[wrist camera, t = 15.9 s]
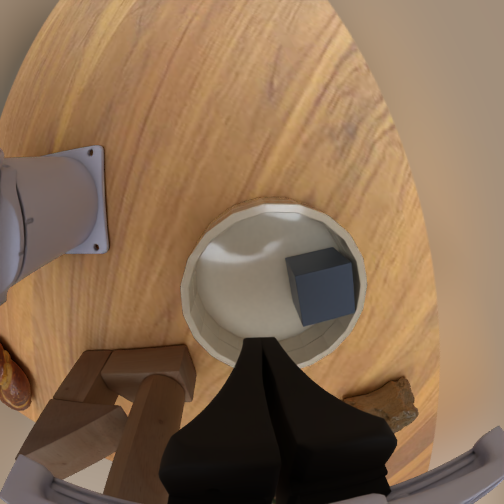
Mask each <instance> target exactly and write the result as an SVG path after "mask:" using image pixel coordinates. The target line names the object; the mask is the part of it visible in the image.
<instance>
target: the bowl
mask: <svg viewBox="0 0 504 504" xmlns="http://www.w3.org/2000/svg"><path fill="white" fill-rule="evenodd" d="M330 247H334V248H335V249H336V250H337V251H338V252H340V253H341V254H342V255H343V256H344V257H345V258H347V259H348V260H349V261H350V262H351V263H352V274H353V286H354V301H355V313H353V314H349V315H346V316H342V317H339V318H335V319H331V320H328V321H324V322H320V323H316V324H313V325H309V326H305V327H303V325H302V323H301V320H300V318H299V316H298V313H297V311H296V308H295V306H294V303H293V300H292V294H291V288H290V283H289V277H288V272H287V267H286V261H285V258H287V257H291V256H296V255H300V254H304V253H309V252H313V251H317V250H321V249H326V248H330ZM180 287H181V288H180V290H181V301H182V311H183V316H184V318H185V320H186V322H187V324H188V326H189V328H190V330H191V332H192V334H193V337H194V338H195V339H196V341H197V342H198V343H199V344H200V345H201V346H202V347H203V348H204V349H205V350H206V351H207V352H208V353H209V354H210V355H211V356H213V357H214V358H216V359H218V360H220V361H221V362H223V363H225V364H227V365H229V366H231V367H233V368H234V367H235V364H236V362H237V360H238V357H239V355H240V352H241V349H242V345H243V339H245V338H251V337H275V338H276V339H277V340H278V342H279V343H280V345H281V346H282V348H283V349H284V350H285V352H286V353H287V354H288V355H289V357H290V358H291V359H292V360H293V361H294V362H295V363H296V365H297V366H298V367H299V368H303V367H307V366H310V365H312V364H314V363H315V362H317V361H319V360H320V359H322V358H323V357H325V356H327V355H328V354H330V353H331V352H333V351H334V350H335V349H336V348H337V347H338V346H339V345H340V344H341V343H342V342H343V341H344V340H345V338H346V337H347V336H348V335H349V334H350V333H351V332H352V330H353V328H354V326H355V324H356V322H357V320H358V318H359V316H360V314H361V312H362V309H363V306H364V301H365V295H366V289H367V278H366V272H365V265H364V259H363V256H362V255H361V253H360V251H359V249H358V247H357V245H356V244H355V242H354V240H353V238H352V237H351V235H350V234H349V233H348V232H347V231H346V230H345V229H344V228H343V227H341V226H340V225H339V224H338V223H337V222H336V221H334V220H333V219H332V218H331V217H330V216H328V215H327V214H325V213H323V212H321V211H319V210H317V209H315V208H313V207H311V206H308V205H306V204H303V203H300V202H298V201H295V200H292V199H289V198H279V197H261V198H256V199H251V200H248V201H245V202H242V203H239V204H237V205H235V206H232V207H231V208H229V209H228V210H226V211H225V212H223V213H222V214H220V215H219V216H218V217H217V218H216V219H215V220H213V221H212V222H211V223H210V224H209V226H208V227H207V228H206V230H205V231H204V233H203V234H202V236H201V237H200V238H199V240H198V241H197V243H196V245H195V246H194V248H193V250H192V252H191V254H190V256H189V258H188V260H187V263H186V267H185V271H184V275H183V278H182V282H181V286H180Z"/></svg>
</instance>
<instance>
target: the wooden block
mask: <svg viewBox="0 0 504 504" xmlns="http://www.w3.org/2000/svg"><path fill="white" fill-rule="evenodd" d="M195 381H196V372H195V369H194V366H193V364H192V361H191V358H190V355H189V352H188V349H187V347H186V346H185V345H179V346H169V347H158V348H145V349H131V350H115V351H113V352H112V351H110V350H106V351H85V352H83V354H82V355H81V356H80V358H79V359H78V361H77V362H76V363H75V365H74V366H73V368H72V369H71V371H70V372H69V374H68V375H67V377H66V378H65V379H64V381H63V382H62V384H61V385H60V387H59V388H58V390H57V391H56V393H55V395H54V396H53V399H50V401H49V402H48V404H47V405H46V407H45V408H44V410H43V412H42V413H41V415H40V417H39V418H38V420H37V421H36V423H35V425H34V427H33V428H32V430H31V431H30V433H29V435H28V437H27V439H26V440H25V442H24V444H23V446H22V447H21V449H20V451H19V453H18V454H17V457H16V458H15V460H17V458H18V456H19V454H22V455H24V456H26V457H28V458H30V459H32V460H34V461H36V462H38V463H40V464H42V465H43V466H44V467H46V468H47V469H48V470H49V471H50V472H51V473H52V474H53V476H54V477H56V478H59V479H61V480H63V479H65V478H67V477H69V476H71V475H73V474H75V473H77V472H79V471H81V470H83V469H85V468H87V467H88V466H90V465H92V464H94V463H96V462H98V461H100V460H102V459H103V458H105V457H107V456H109V455H111V454H112V453H114V452H116V453H115V456H114V460H113V463H112V466H111V469H110V472H109V475H108V478H107V482H106V485H105V488H104V492H103V494H104V495H108V496H111V497H115V498H119V499H123V500H127V501H131V502H136V503H141V504H167V503H168V496H169V494H168V492H167V491H166V489H165V487H164V486H163V484H162V482H161V481H160V479H159V475H158V473H159V468H160V462H161V458H162V455H163V453H164V450H165V448H166V445H167V443H168V441H169V439H170V438H171V436H172V435H173V434H175V433H176V432H177V431H179V429H180V424H181V418H182V412H183V407H184V402H191V401H192V400H193V394H194V388H195ZM118 395H120V396H122V397H124V398H126V399H127V400H129V401H131V402H133V405H132V408H131V410H130V413H129V416H128V417H127V415H126V413H125V412H124V410H123V409H122V407H121V406H118V405H114V404H115V402H116V399H117V397H118Z"/></svg>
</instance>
